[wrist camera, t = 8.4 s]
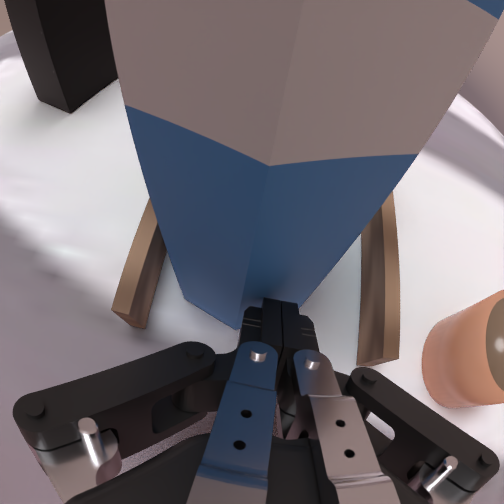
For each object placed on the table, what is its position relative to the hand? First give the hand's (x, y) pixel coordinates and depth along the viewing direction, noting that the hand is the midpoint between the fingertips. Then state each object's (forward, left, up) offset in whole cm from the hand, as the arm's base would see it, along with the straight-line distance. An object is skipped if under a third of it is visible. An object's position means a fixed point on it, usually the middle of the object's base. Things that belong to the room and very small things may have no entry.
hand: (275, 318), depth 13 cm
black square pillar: (+1, +32, -5) cm, 33 cm away
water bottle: (+3, +4, -5) cm, 7 cm away
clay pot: (+9, -12, -5) cm, 16 cm away
